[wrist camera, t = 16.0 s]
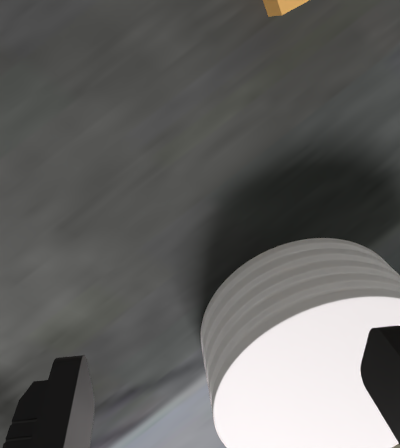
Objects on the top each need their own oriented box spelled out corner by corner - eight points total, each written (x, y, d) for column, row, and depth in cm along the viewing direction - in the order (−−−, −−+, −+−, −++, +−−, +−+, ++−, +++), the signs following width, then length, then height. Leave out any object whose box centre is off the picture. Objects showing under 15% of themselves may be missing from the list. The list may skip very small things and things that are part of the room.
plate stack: (406, 215, 46) (480, 268, 36) (393, 372, 59) (443, 443, 49) (181, 265, 45) (190, 333, 35) (218, 413, 58) (232, 493, 48)
